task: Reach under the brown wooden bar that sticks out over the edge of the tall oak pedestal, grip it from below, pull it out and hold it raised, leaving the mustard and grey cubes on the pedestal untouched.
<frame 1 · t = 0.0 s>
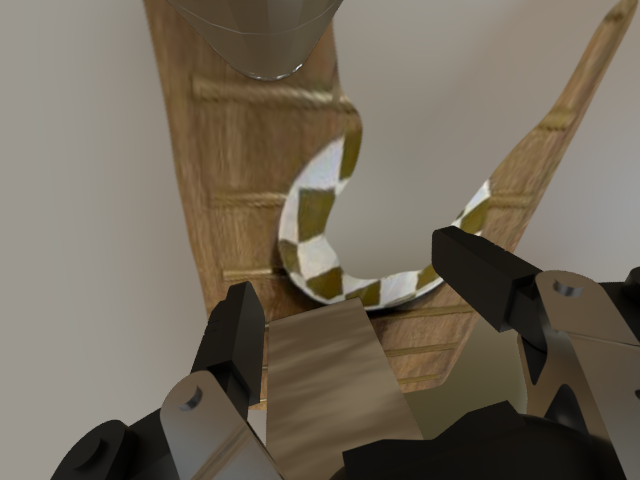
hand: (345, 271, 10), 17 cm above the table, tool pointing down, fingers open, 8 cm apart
oak pedestal: (323, 337, 38), on the table
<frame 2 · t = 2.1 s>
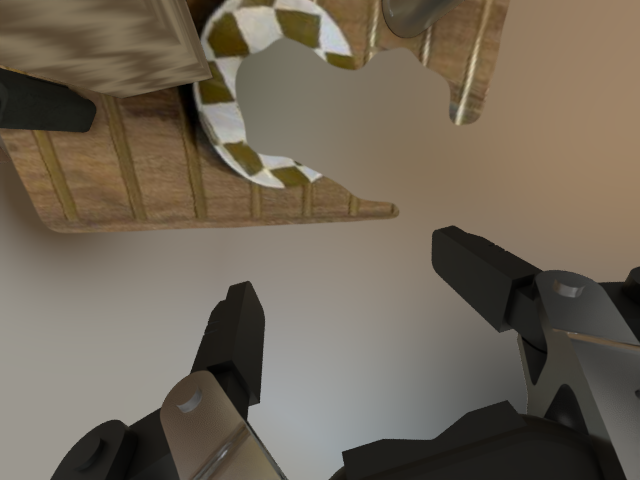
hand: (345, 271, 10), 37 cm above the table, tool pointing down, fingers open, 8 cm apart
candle: (74, 109, 34), on the table
oak pedestal: (142, 30, 32), on the table
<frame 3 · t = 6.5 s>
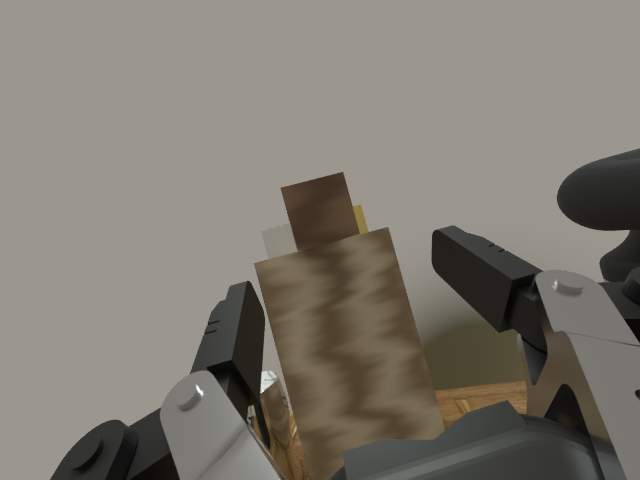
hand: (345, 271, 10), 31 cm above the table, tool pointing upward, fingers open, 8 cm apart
brown wooden bar: (320, 245, 26), point 32 cm above the table, touching oak pedestal
mustard cube: (351, 237, 33), point 32 cm above the table, touching oak pedestal
grey cube: (285, 255, 33), point 32 cm above the table, touching oak pedestal
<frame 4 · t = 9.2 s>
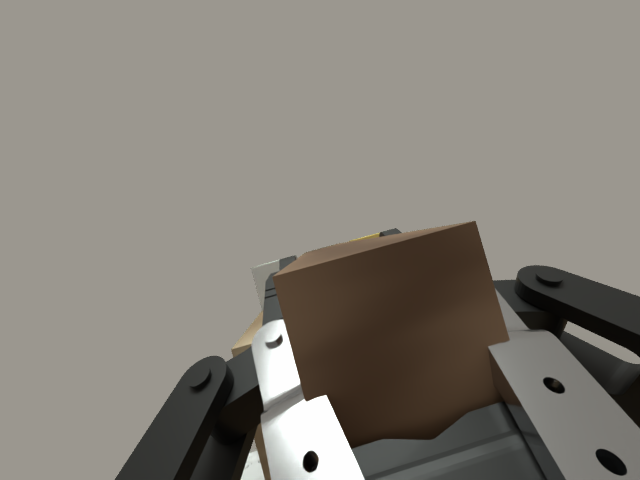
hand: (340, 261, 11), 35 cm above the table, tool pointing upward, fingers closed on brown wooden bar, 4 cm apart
brown wooden bar: (344, 304, 16), point 32 cm above the table, touching gripper, oak pedestal
grey cube: (285, 299, 23), point 32 cm above the table, touching oak pedestal
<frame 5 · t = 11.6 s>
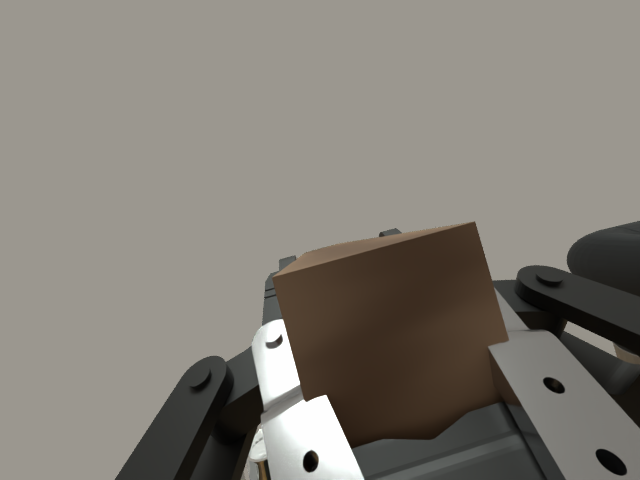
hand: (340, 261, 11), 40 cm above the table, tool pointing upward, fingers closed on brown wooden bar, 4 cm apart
brown wooden bar: (344, 304, 16), point 36 cm above the table, touching gripper
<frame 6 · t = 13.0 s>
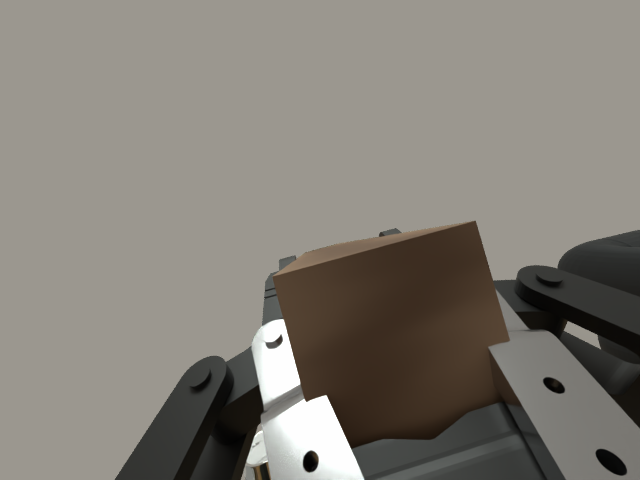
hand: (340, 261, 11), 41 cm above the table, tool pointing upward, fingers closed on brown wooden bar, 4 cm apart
brown wooden bar: (344, 304, 16), point 38 cm above the table, touching gripper
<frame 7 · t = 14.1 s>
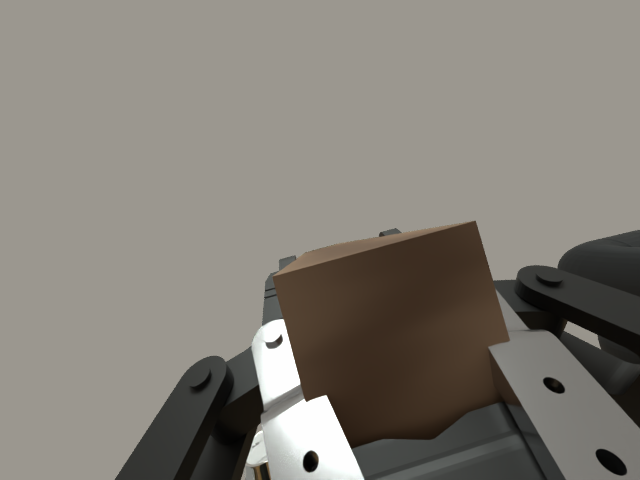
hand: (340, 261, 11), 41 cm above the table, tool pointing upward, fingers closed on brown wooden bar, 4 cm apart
brown wooden bar: (344, 304, 16), point 38 cm above the table, touching gripper
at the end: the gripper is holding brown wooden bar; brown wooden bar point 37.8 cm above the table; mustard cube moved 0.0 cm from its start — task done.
